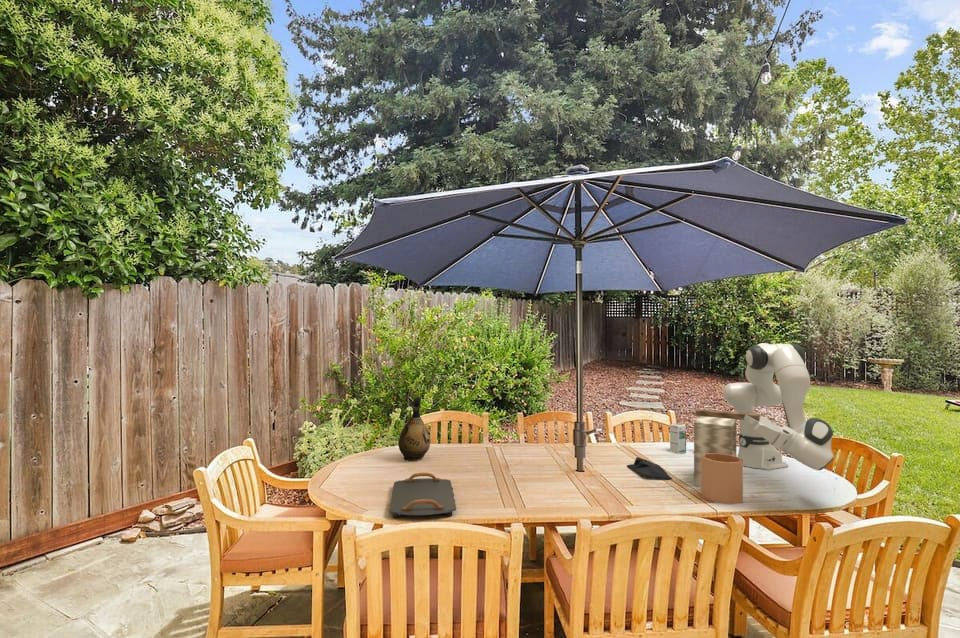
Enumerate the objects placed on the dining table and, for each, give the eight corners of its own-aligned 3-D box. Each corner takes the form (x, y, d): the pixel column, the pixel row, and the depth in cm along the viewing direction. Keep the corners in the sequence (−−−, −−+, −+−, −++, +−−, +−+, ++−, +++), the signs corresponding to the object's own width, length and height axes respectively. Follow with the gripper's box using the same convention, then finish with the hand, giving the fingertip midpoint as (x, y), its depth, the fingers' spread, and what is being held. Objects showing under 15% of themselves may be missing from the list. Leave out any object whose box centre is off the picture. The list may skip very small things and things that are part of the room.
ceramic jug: (428, 463, 233) (428, 399, 233) (395, 462, 233) (396, 399, 233) (432, 454, 250) (432, 394, 250) (401, 453, 250) (402, 394, 250)
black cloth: (639, 480, 211) (639, 469, 211) (625, 466, 233) (625, 456, 233) (675, 481, 210) (675, 470, 210) (658, 466, 232) (658, 456, 232)
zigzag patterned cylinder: (736, 477, 215) (736, 417, 215) (731, 491, 196) (732, 426, 196) (701, 472, 222) (701, 414, 222) (693, 485, 203) (694, 422, 204)
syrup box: (678, 454, 254) (678, 425, 254) (669, 451, 259) (669, 423, 260) (686, 452, 257) (686, 425, 257) (677, 450, 262) (677, 423, 262)
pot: (724, 489, 198) (724, 452, 199) (751, 501, 185) (751, 461, 185) (694, 492, 195) (694, 454, 195) (719, 504, 181) (719, 463, 182)
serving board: (394, 486, 201) (394, 470, 201) (450, 484, 203) (450, 469, 204) (387, 523, 162) (388, 504, 162) (458, 521, 165) (458, 502, 165)
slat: (759, 419, 188) (759, 414, 188) (759, 421, 184) (759, 415, 184) (697, 414, 199) (697, 409, 199) (695, 415, 196) (695, 410, 196)
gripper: (786, 425, 190) (751, 405, 196) (787, 435, 173) (748, 412, 179) (777, 439, 192) (742, 418, 198) (776, 449, 174) (738, 426, 180)
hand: (745, 415), depth 188 cm, fingers closed on slat, 4 cm apart
